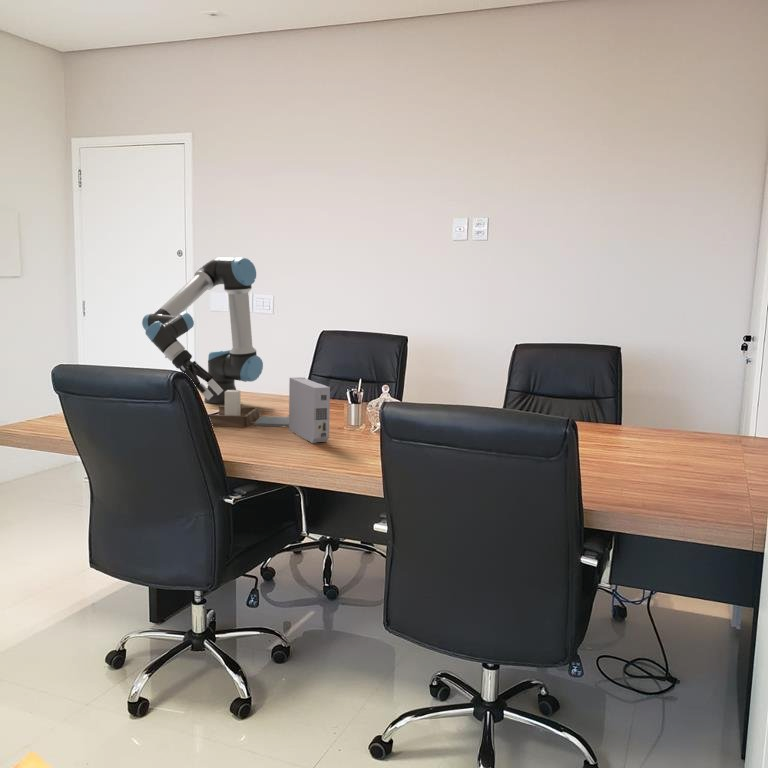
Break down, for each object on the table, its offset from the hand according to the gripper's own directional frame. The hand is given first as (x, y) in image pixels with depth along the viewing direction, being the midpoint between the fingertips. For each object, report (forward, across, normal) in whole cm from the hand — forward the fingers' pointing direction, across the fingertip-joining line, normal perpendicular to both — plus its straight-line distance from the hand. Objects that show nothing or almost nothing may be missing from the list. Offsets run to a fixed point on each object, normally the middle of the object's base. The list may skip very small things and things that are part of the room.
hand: (215, 395), depth 302 cm
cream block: (+12, -1, -3) cm, 12 cm away
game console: (+36, +22, +22) cm, 47 cm away
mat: (+24, -1, +10) cm, 25 cm away
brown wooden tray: (+12, -1, -3) cm, 12 cm away
